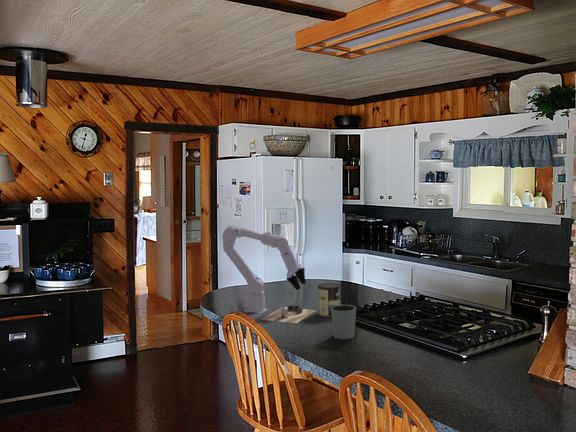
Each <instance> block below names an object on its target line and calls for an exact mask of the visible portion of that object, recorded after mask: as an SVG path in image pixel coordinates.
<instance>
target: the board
mask: <svg viewBox="0 0 576 432" xmlns="http://www.w3.org/2000/svg"><path fill="white" fill-rule="evenodd" d="M281 308H282V307H280V308H278V309H276V310H275V311H273V312H272V313H270V314H268V315H266V316H264V317H262V318H261V319H260V320H261V321H271V322H280V323H289V324H290V323H292V324H298V323H300V322H301V321H302V320H303V321H304V319H306V318H308V317H309V316H310V315H311V314H313V313H314V312H316V311H317V310H316V309H306V308H304V309H303V312H302V313H301V314H297V311H288V318H281Z"/></svg>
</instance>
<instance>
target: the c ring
mask: <svg viewBox="0 0 576 432" xmlns="http://www.w3.org/2000/svg"><path fill="white" fill-rule="evenodd" d="M284 307H288V311H297V314H301V313H302V312H303V306H302V305H299V304H290V305H285V306H284Z"/></svg>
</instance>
